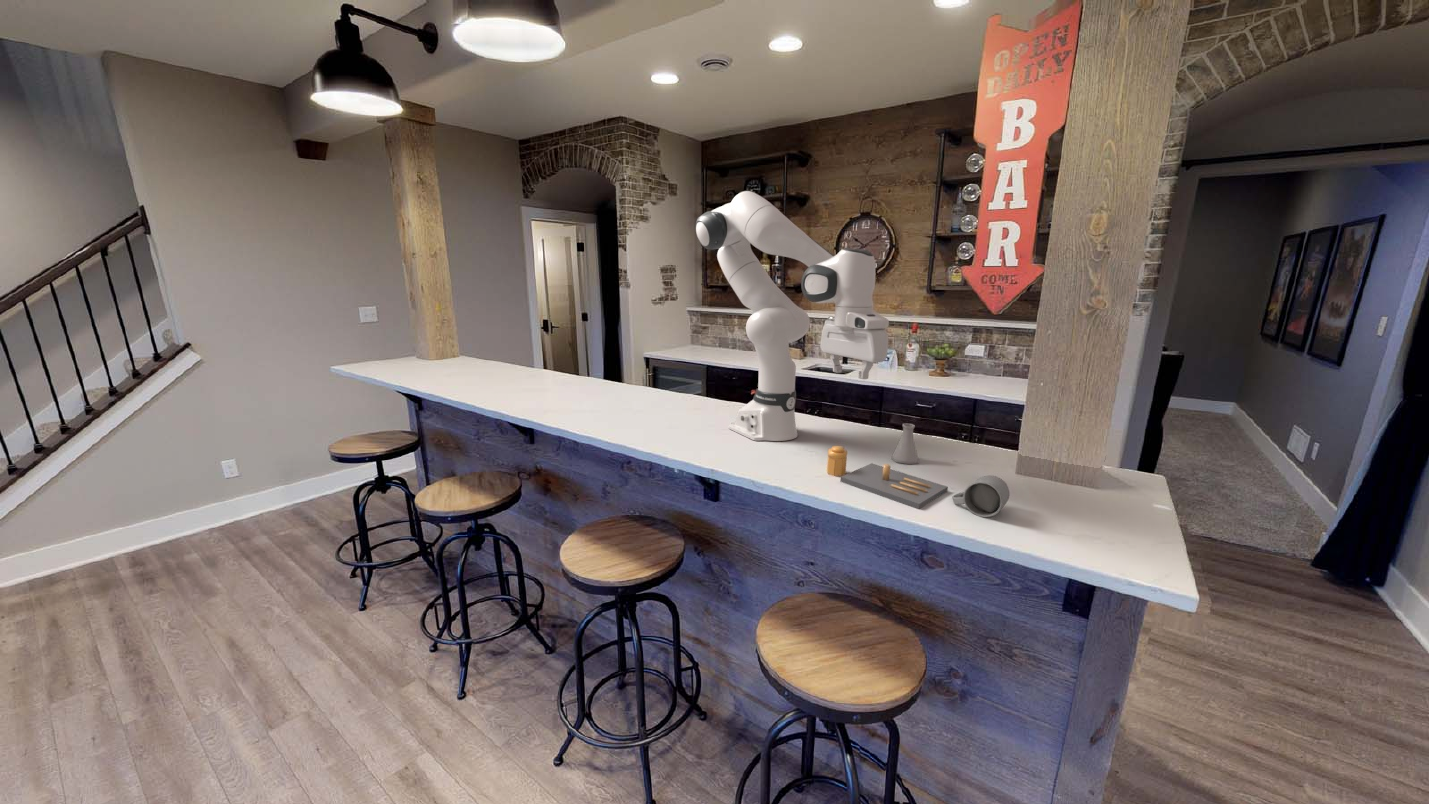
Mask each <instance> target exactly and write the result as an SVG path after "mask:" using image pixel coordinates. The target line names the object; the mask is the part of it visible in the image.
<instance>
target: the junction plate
mask: <svg viewBox="0 0 1429 804" xmlns="http://www.w3.org/2000/svg"><path fill="white" fill-rule="evenodd" d="M840 483H843V484H846V485H848V486H849V485H850V486H851V487H854V488H858V489H860V490H863V491H867V492H869V493H871V494H875V495H878V496H880V497H883V498H886V499H889V500H892V501H895V502H898V503H900V504H902V505H903V504H904V505H906V506H909V507H912V508H915V509H916V510H918V509H921V508H923V507H924V506H926V505H928V504H929V503H931V502H933V501H934V500H936V499H937V498H939V497H940V496H943V495H944V494H945V493H948V488H949V487H948V486H947V485H943V484H942V483H941V484H940V483H937V482H933V481H931V480H927V479H924V478H921V477H917V476H915V475H911V474H908V473H905V472H901V471H899V470H894V469H891V465H890V464H886V463H885V464H883V466H882V465H880V464H879V465H878V464H875V463H873V462H872V463H869V464H866V465H865V466H862V467H860V468H858V469H856V470H854V471H851V472H849V473H846V474H845V475H843V476H840Z"/></svg>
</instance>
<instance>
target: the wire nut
mask: <svg viewBox="0 0 1429 804" xmlns="http://www.w3.org/2000/svg"><path fill="white" fill-rule="evenodd" d="M827 451H828V452H827V462H826V464H827V465H826V473H827V474H828V475H831V476H833V477H834V476H835V477H842V476H844V475H846V474H847V473H846V472H847V460H848V458H847V457H848V456H847V455H848V451H847V450H846V449H845V447H843V446H840V445H833V446H831V448H829V449H828V450H827Z"/></svg>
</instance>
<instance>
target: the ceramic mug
mask: <svg viewBox="0 0 1429 804" xmlns="http://www.w3.org/2000/svg"><path fill="white" fill-rule="evenodd" d="M1010 495H1011V494H1010V488H1009V486H1008V484H1007V482H1005V481H1004V480H1003V479H1002V478H1000V477H998V476H996V475H984V476H982V477H978V478H977V479H976V480H975V481H973V482H971V483H970V484H968V485H967V486H966V488H964V491H962V492H958V493H956V494H954V495H952V497H951V498H952V499H951V500H952V503H953V504H955V505H965V507H966V508H967V510H968V511H969V512H971V513H972V514H974V515H975V516H978V517H980V518H993V517H994V516H996V515H998V514H999V512H1001V510H1002V509H1003V508H1004V506H1005V505H1006V504H1007V503H1008V502H1009V499H1010Z"/></svg>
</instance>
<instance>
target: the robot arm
mask: <svg viewBox="0 0 1429 804" xmlns="http://www.w3.org/2000/svg"><path fill="white" fill-rule="evenodd" d="M694 227H695V228H694V229H695V234H696V238H697V240H698V243H699V244H700V245H701V246H702V247H703V248H704V249H706V250H710V251H711V250H717V254H716V257H717V261H718V264H719V266H720V268H721V271H722V274H723V275H724V277H725V279H726V280H727V282H728V284H729V286H730V287H731V288H732V290H733V292H734V293H735V295H736V297H737V298H738V299H739V301H740V302H741V304H742V305H743V306H744V307H746V308H748V309H749V310H751V311H752V312H753V313H752V314H750V316H749V317H748V318H747V321H746V325H745V333H746V336H747V338H748V339H749V341H750V342H751V343H752V345H753V346H754V349H755V353H756V354H755V355H756V357H757V358H756V359H757V365H758V383H757V387H758V388H757V387H756V389H752V390H751V393H750V394H751V395H753V394H754V395H753V397H752V398H753V399H752V400H750V401H749V402H748V403H746V404H744V405H743V406H742V407H740V408H739V410H738V411H737V414H736V418H735V419H736V420H735V421H734V422H731V423H729V425H728V429H729V430H731V431H733V432H735V433H737V434H739V435H742V436H744V437H746V438H748V439H751V440H752V441H756V442H757V441H759V442H761V441H771V442H781V441H782V442H784V441H791V440H794V439H796V438H797V437H798V436H799V435H798V431H797V425H796V416H795V415H796V413H795V407H796V401H797V391H796V376H797V375H796V371H797V366H796V363H795V361H793V358H792V356H791V353H790V345H789V344H790V343H793V342H794V343H795V342H796V341H798V340H800V339H802V338H803V337H804V336H805V335H806V334H807V333H808V332H809V329H810V326H811V321H810V319H811V318H810V316H809V315H808V312H807V311H805V310H804V309H803V308H802V307H800V306H798V305H797V304H795V302H793V300H791V299H790V297H788V296H787V295H786V294H785V292H783V291H782V290H781V289H780V287H778V285H776V283H775V282H774V280H773V279H772V277H770V275H769V273H768V272H767V271H766V269H765V267H763V264H762V263H761V262H760V259H758V258H757V256H756V255H755V253H754V252H753V250H752V247H751V245H752V246H753V247H755V248H756V249H758V250H759V251H761V252H762V253H764V254H767V255H772V256H779V257H784V258H785V257H786V258H789V259H793V260H796V261H799V262H801V263H802V264H803V265H805V266H806V267H807V268H806V269H805V271H804V273H803V275H802V278H801V282H800V284H801V285H800V286H801V287H800V288H801V291H802V294H803V296H804V297H805V299H807V300H808V301H809V302H811V303H815V304H833V303H834V304H835V305H834V306H835V307H834V316H832V315H830V316H828V317H827V318H826V320H824V325H823V328H822V331H821V337H820V346H819V347H820V348H819V349H820V350H821V352H822V353H824V354H825V353H826V354H828V355H829V354H830V355H829V356H830V357H829V358H830V361H831V364H832V372H834V373H836V374H839V373H842V372H843V365H842V364H841V363H840V359H841V357H844V358H850V359H855V360H859V361H861V363H862V365H861V366H863V367H862V370H860V371H859V370H858V379H861V380H868V379H869V375H870V372H871V369H872V368H873V366H874V363H875V364H876V363H883V362H885V360H886V359H887V357H888V352H889V351H888V349H889V335H888V331H887V330H886V329H888V328H889V325H890V322H889V321H890V320H889V319H887V318H886V317H884V316H883V315H882V314H879V313H878V312H877V311H875V310H874V300H873V294H874V291H875V288H876V287H875V286H876V260H875V257H874V253H872V252H871V251H868V250H866V249H860V248H855V247H852V248H851V247H844V248H841V250H839V252H837V254H833V253H832V252H831V251H829V250H828V249H827V248H826V247H824V246H822V245H821V243H819V242H817V241H816V240H815V239H814V238H812V237H810V236H809V235H808V234H806V233H805V231H803V230H802V229H801V228H799V226H797V225H796V224H794V222H792V221H791V220H790V219H789V217H787V216H786V215H784V214H783V212H782V211H780V210H779V209H778V208H777V207H776V206H775V205H773V204H772V203H771V202H770V201H768V200H767V199H766V198H764V197H763V196H761V195H759V194H757V193H755V192H754V191H751V190H744V191H740V192H739V193H738V194H736V195H735V196H734V197H733V198H732V200H731V202H728V203H725V204H723V205H722V206H718V207H716V208H715V209H712V210H708V211H705V212H704V213H703V214H701V215H700V216H698V217H697V219H696V222H695V226H694Z"/></svg>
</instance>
